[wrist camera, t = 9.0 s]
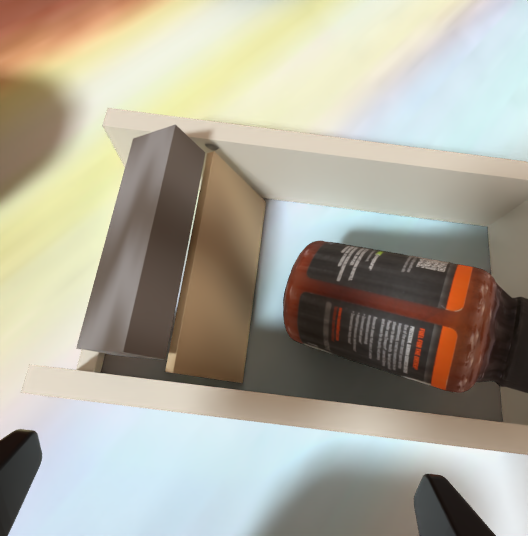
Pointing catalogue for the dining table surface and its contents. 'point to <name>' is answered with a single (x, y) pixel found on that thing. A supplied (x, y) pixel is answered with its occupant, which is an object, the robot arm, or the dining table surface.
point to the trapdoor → (178, 261)
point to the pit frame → (341, 196)
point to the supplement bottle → (408, 316)
